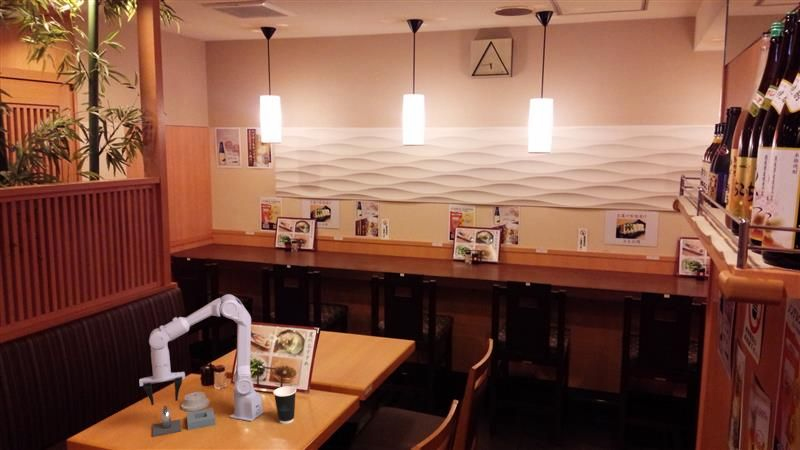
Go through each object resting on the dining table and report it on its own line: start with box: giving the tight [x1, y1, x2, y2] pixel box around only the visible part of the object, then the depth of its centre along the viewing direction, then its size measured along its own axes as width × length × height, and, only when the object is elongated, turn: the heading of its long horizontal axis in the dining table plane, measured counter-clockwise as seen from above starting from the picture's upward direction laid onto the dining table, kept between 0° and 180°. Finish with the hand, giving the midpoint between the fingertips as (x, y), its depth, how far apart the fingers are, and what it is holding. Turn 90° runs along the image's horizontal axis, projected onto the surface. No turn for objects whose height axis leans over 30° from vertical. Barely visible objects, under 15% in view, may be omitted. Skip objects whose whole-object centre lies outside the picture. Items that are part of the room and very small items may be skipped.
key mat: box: [152, 418, 182, 438], centre depth 205 cm, size 9×9×1 cm
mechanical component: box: [180, 391, 210, 412], centre depth 223 cm, size 10×4×10 cm
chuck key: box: [160, 405, 172, 429], centre depth 204 cm, size 3×6×7 cm, turn 22°
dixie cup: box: [272, 386, 297, 425], centre depth 207 cm, size 8×8×11 cm
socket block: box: [186, 407, 216, 431], centre depth 209 cm, size 9×9×2 cm
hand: (164, 401), depth 204 cm, fingers open, 7 cm apart
